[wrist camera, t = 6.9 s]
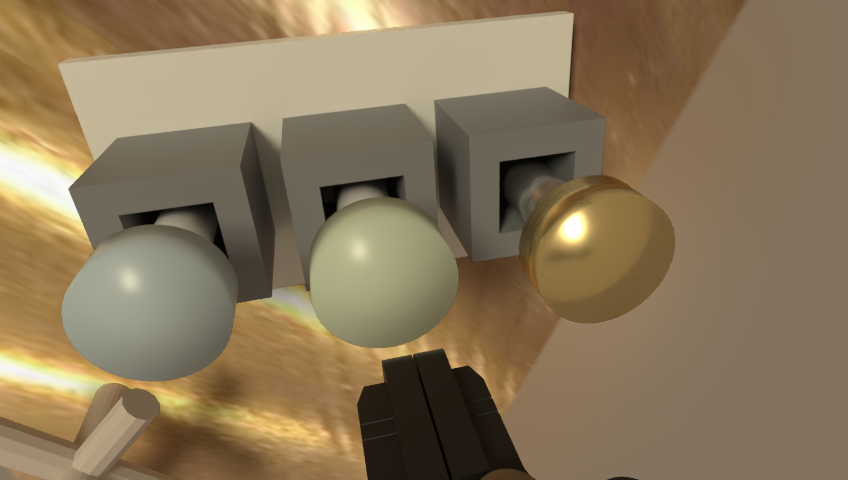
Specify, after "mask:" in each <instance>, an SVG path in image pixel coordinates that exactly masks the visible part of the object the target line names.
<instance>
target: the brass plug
mask: <svg viewBox="0 0 848 480" xmlns="http://www.w3.org/2000/svg"><path fill="white" fill-rule="evenodd" d="M499 192H500V193H501V195H502V196H503V197H504V198H505V199H506V200H507V201H508V203H509V204H510V205H511V206H512V207H513V208H514V210H515V211H516V212H517V213H518V214H519V215H520V216H521V218H522V219H523V220H524V221H525V222H526V223H525V225H524V227H523V230H522V233H521V237H520V242H519V257H520V262H521V265H522V268H523V270H524V272H525V274H526V275H527V277H528V278H529V280H530V281H531V282H532V284H533V285H534V286H535V288H536V289H537V291H538V292H539V293H540V295H541V296H542V297H543V299H544V300H545V301H546V303H547V304H548V305H549V307H550V308H551V309H552V310H553V311H554V312H555V313H556V314H558V315H559V316H561V317H563V318H565V319H567V320H570V321H573V322H578V323H598V322H603V321H607V320H611V319H614V318H616V317H619V316H621V315H623V314H625V313H627V312H629V311H630V310H632V309H634V308H635V307H637V306H638V305H639V304H641V303H642V302H643V301H644V300H645V299H647V298H648V297H649V296H650V295H651V294H652V293H653V292H654V290H655V289H656V288H657V287H658V286H659V284H660V283H661V281H662V280H663V278H664V277H665V275H666V273H667V271H668V269H669V267H670V264H671V261H672V258H673V254H674V248H675V234H674V229H673V226H672V223H671V221H670V219H669V217H668V216H667V214H666V213H665V212H664V211H663V210H662V209H661V208H660V207H659V206H658V205H656V204H655V203H653V202H652V201H650V200H649V199H647V198H646V197H645V196H643V195H642V194H640V193H639V192H637V191H636V190H634V189H633V188H631V187H630V186H629V185H627V184H626V183H624V182H622V181H620V180H619V179H616V178H613V177H609V176H604V175H591V176H584V177H579V178H576V179H573V180H570V181H568V182H565V181H564V180H563V179H562V178H561V177H559V176H558V175H557V174H556V173H555V172H553V171H552V170H551V169H550V168H549V167H547V166H546V165H545V164H544V163H543V162H541V161H540V160H539V159H538V158H537V157H530V158H523V159H515V160H508V161H501V162H499Z"/></svg>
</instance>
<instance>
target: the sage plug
mask: <svg viewBox="0 0 848 480" xmlns="http://www.w3.org/2000/svg"><path fill="white" fill-rule="evenodd" d="M333 192H334V198H335V204H336V210H337V212H335V213H334V214H333V215H332V216H330V217H329V218H328V219H327V220H326V221H325V223H324V224H323V225H322V226H321V228H320V229H319V230H318V232H317V234H316V236H315V238H314V240H313V243H312V245H311V249H310V254H309V272H310V291H311V301H312V305H313V308H314V311H315V313H316V315H317V317H318V319H319V320H320V322H321V323H322V324H323V325H324V327H325V328H326V329H327V330H328V331H330V332H331V333H332V334H333V335H335V336H336V337H338V338H339V339H341V340H343V341H346V342H348V343H350V344H354V345H357V346H362V347H368V348H386V347H394V346H398V345H402V344H405V343H408V342H410V341H413V340H415V339H417V338H419V337H421V336H422V335H424V334H426V333H427V332H429V331H430V330H431V329H432V328H434V327H435V326H436V325H437V324H438V323H439V322H440V321H441V320H442V319H443V318H444V316H445V315H446V314H447V312H448V311H449V309H450V308H451V306H452V304H453V301H454V299H455V296H456V293H457V289H458V280H459V275H458V267H457V264H456V260H455V258H454V256H453V253H452V252H451V250H450V248H449V246H448V244H447V242H446V240H445V238H444V237H443V235H442V233H441V231H440V229H439V227H438V226H437V224H436V223H435V221H434V220H433V219H432V218H431V216H430V215H429V214H428V213H426V212H425V211H424V210H423V209H421V208H420V207H418V206H416V205H415V204H412V203H410V202H408V201H405V200H402V199H398V198H392V197H389V196H388V194H387V191H386V189H385V186H384V184H383V181H382V179H374V180H366V181H359V182H352V183H345V184H338V185H333Z"/></svg>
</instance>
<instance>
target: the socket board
mask: <svg viewBox="0 0 848 480" xmlns="http://www.w3.org/2000/svg"><path fill="white" fill-rule="evenodd" d="M573 16H574V13H569V12H565V11H558V12H547V13H537V14H527V15H516V16H506V17H496V18H485V19H475V20H465V21H454V22H444V23H434V24H423V25H413V26H403V27H393V28H382V29H372V30H362V31H351V32H341V33H331V34H320V35H310V36H300V37H289V38H279V39H269V40H258V41H248V42H238V43H227V44H217V45H207V46H196V47H186V48H176V49H165V50H155V51H145V52H134V53H124V54H114V55H103V56H93V57H83V58H72V59H67V60H65V61H63V62H61V63H58V66H59V69H60V72H61V74H62V77H63V80H64V82H65V85H66V88H67V90H68V93H69V95H70V98H71V101H72V103H73V106H74V109H75V111H76V114H77V116H78V119H79V122H80V124H81V127H82V130H83V132H84V135H85V137H86V140H87V143H88V145H89V148H90V151H91V153H92V156H93V158H94V162H93V164H92V165H91V166H90V167H89V168H88V169H87V170H86V171H85V172H84V173H83V174H82V175H81V176H80V177H79V178H78V179H77V180H76V181H75V182H74V183H73V184H72V185H71V186H70V188H69V192H70V194H71V197H72V199H73V201H74V204H75V206H76V209H77V211H78V213H79V216H80V218H81V221H82V223H83V225H84V228H85V230H86V233H87V235H88V237H89V240H90V242H91V245H92V247H93V249H94V250H95V248H96V247H97V246H98V245H99V244H100V243H101V242H103V241H104V240H105V239H107V238H108V237H110V236H111V235H113V234H115V233H117V232H119V231H122V230H125V229H128V228H131V227H135V226H140V225H151V224H153V225H154V224H155V222H156V220H157V218H158V216H159V214H160V212H161V210H162V209H168V208H175V207H182V206H189V205H196V204H203V203H210V202H213V204H214V207H215V211H216V214H217V218H218V222H219V224H218V228H217V232H216V235H215V239H214V243H213V244H214V245H215V246H217V247H218V248H219V249H220V250H221V251H222V252H223V253H224V254H225V256H226V257H227V258H228V260H229V261H230V263H231V265H232V267H233V268H234V271H235V274H236V277H237V282H238V297H237V303H240V302H246V301H252V300H257V299H263V298H269V297H272V289H275V288H281V287H287V286H293V285H299V284H305V285H306V290H307V291H310V272H309V254H310V249H311V245H312V243H313V240H314V238H315V236H316V234H317V232H318V230H319V229H320V228H321V226H322V225H323V224H324V223H325V221H326V220H327V219H328V218H329V217H330V216H332V215H333V214H334V213H335V212H337V210H336V204H335V198H334V192H333V185H338V184H345V183H352V182H359V181H366V180H374V179H382V181H383V184H384V186H385V189H386V191H387V194H388V196H389V197H392V198H398V199H402V200H405V201H408V202H410V203H412V204H415V205H416V206H418V207H420V208H421V209H423V210H424V211H425V212H426V213H428V214H429V215H430V216H431V218H432V219H433V220H434V221H435V223H436V224H437V226H438V227H439V229H440V231H441V233H442V235H443V237H444V238H445V240H446V242H447V244H448V246H449V248H450V250H451V252H452V253H453V256H454V258H460V257H466V256H469V258H470V260H471V262H472V263H475V262H481V261H486V260H492V259H498V258H504V257H510V256H516V255H519V242H520V237H521V233H522V230H523V227H524V225H525V223H526V222H525V221H524V220H523V219H522V218H521V216H520V215H519V214H518V213H517V212H516V211H515V210H514V208H513V207H512V206H511V205H510V204H509V203H508V201H507V200H506V199H505V198H504V197H503V196H502V195H501V193H500V192H499V162H501V161H508V160H515V159H523V158H530V157H537V158H538V159H539V160H540V161H541V162H543V163H544V164H545V165H546V166H547V167H549V168H550V169H551V170H552V171H553V172H555V173H556V174H557V175H558V176H559V177H561V178H562V179H563V180H564V181H565V182H568V181H570V180H573V179H576V178H579V177H584V176H591V175H601V165H602V156H603V146H604V136H605V126H606V117H604V116H602V115H600V114H598V113H596V112H594V111H592V110H590V109H588V108H586V107H584V106H582V105H581V104H579V103H577V102H575V101H573V100H571V99H569V98H568V93H569V78H570V62H571V47H572V31H573Z"/></svg>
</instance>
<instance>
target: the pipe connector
mask: <svg viewBox="0 0 848 480" xmlns="http://www.w3.org/2000/svg"><path fill="white" fill-rule="evenodd" d="M159 412H160V404H159V402H158V400H157V399H156V397H155V396H154V395H153V394H151V393H150V392H148V391H146V390H143V389H138V388H135V389H131V390H129V389H128V388H127V387H125V386H123V385H120V384H115V383H112V384H106V385H103V386H101V387H100V388H99V389H98V390H97V392H96V394H95V396H94V399H93V401H92V403H91V405H90V408H89V410H88V412H87V414H86V416H85V419H84V421H83V423H82V425H81V428H80V430H79V432H78V434H77V437H76V439H75V441H74V442H71V441H68V440H65V439H62V438H60V437H57V436H54V435H51V434H48V433H45V432H42V431H40V430H37V429H34V428H31V427H28V426H25V425H22V424H20V423H17V422H14V421H11V420H8V419H5V418H2V417H0V465H1V466H4V467H7V468H11V469H14V470H17V471H20V472H23V473H27V474H30V475H33V476H36V477H40V478H43V479H46V480H180V479H177V478H174V477H171V476H168V475H165V474H162V473H160V472H157V471H154V470H151V469H148V468H145V467H142V466H140V465H137V464H134V463H131V462H128V461H125V460H122V459H120V458H121V457H122V456H123V454H124V453H125V452H126V451H127V450H128V449H129V447H130V446H131V445H132V444H133V443H134V442H135V440H136V439H137V438H138V437H139V436H140V435H141V433H142V432H143V431H144V430H145V429H146V428H147V427H148V425H149V424H150V423H151V422H152V421H153V420H154V418H155V417H156V416H157V414H158V413H159Z"/></svg>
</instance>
